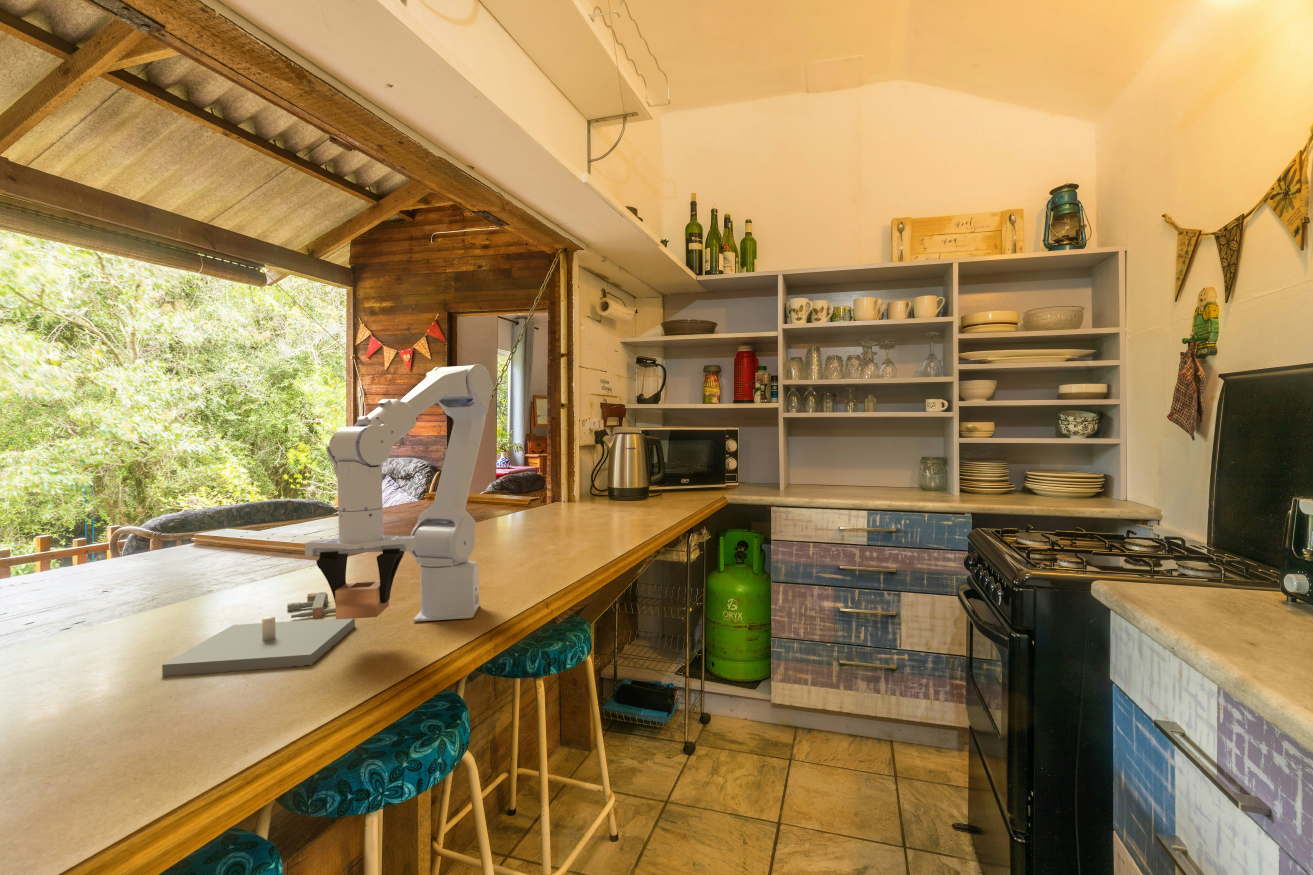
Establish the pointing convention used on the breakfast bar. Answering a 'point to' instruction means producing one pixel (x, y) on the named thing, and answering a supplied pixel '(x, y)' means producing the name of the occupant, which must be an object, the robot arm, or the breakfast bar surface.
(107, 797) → the breakfast bar surface
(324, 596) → the clamp
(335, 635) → the pin board
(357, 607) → the collar block
